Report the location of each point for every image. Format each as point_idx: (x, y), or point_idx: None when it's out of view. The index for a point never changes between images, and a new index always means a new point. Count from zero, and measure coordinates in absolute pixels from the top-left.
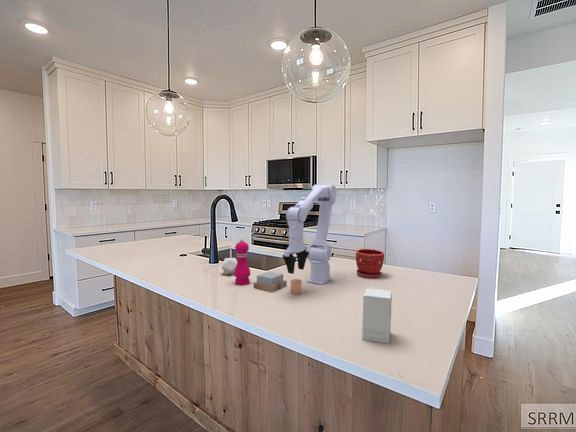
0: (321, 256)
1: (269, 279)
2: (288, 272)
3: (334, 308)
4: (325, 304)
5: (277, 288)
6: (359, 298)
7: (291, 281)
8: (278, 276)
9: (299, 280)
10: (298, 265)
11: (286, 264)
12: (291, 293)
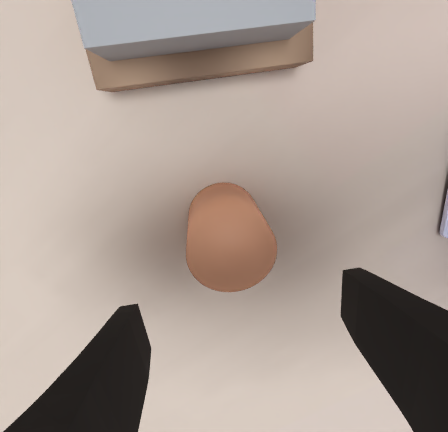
0: None
1: (78, 9)
2: (115, 315)
3: (178, 428)
4: (188, 392)
5: (170, 83)
6: (332, 424)
7: (189, 241)
8: (215, 34)
9: (254, 267)
10: (368, 293)
11: (36, 409)
12: (190, 207)
